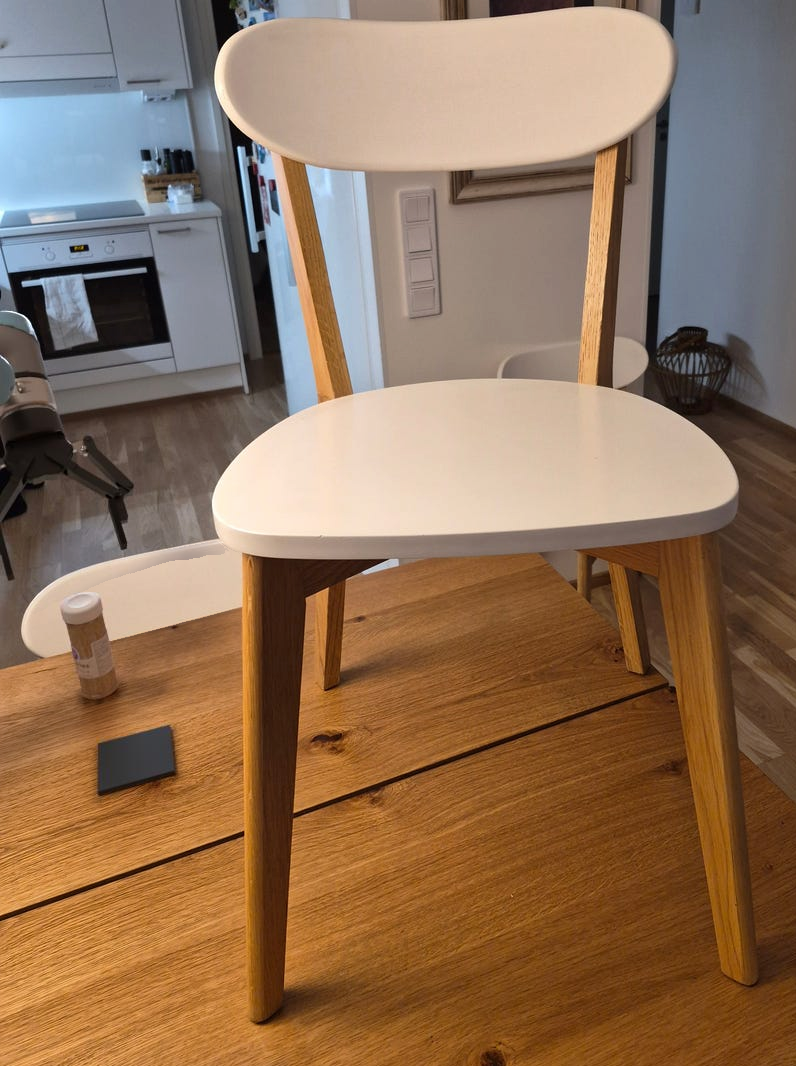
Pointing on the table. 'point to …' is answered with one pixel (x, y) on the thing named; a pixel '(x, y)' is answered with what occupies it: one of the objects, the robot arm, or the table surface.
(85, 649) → the sprinkles bottle
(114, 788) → the mat
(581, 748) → the table surface
